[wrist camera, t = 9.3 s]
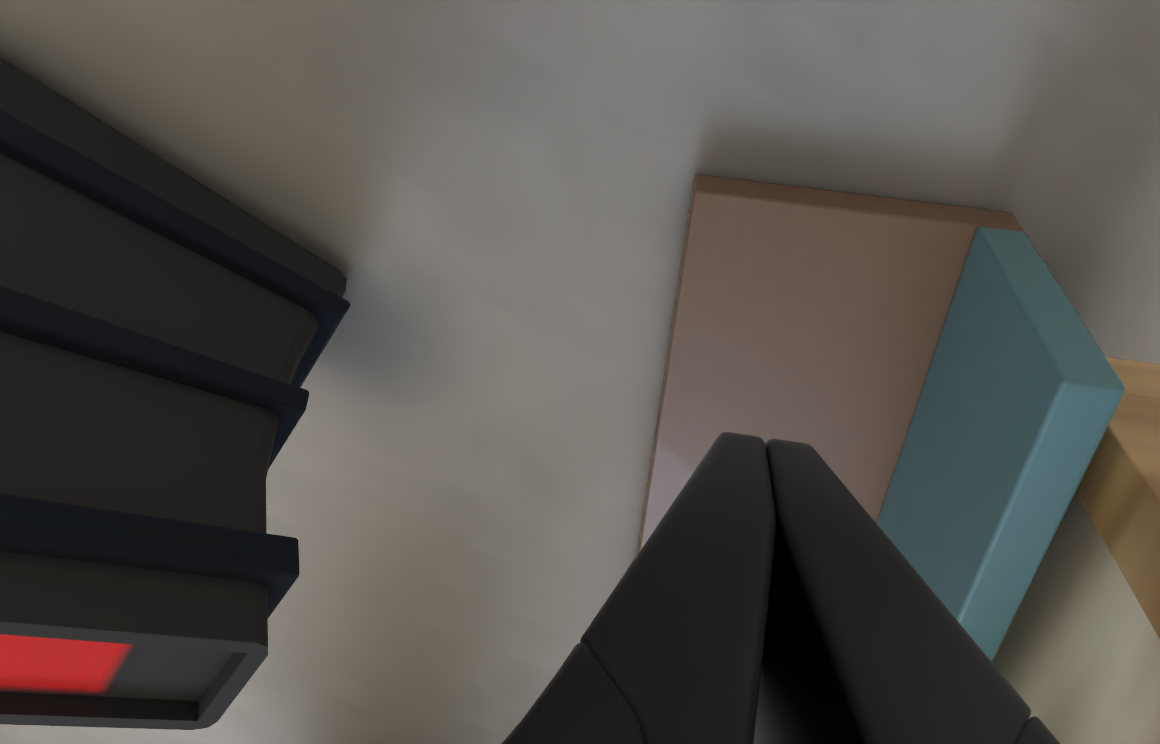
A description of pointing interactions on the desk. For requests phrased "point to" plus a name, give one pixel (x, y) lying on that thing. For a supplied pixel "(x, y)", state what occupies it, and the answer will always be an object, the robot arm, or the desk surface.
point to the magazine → (138, 424)
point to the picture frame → (1100, 589)
